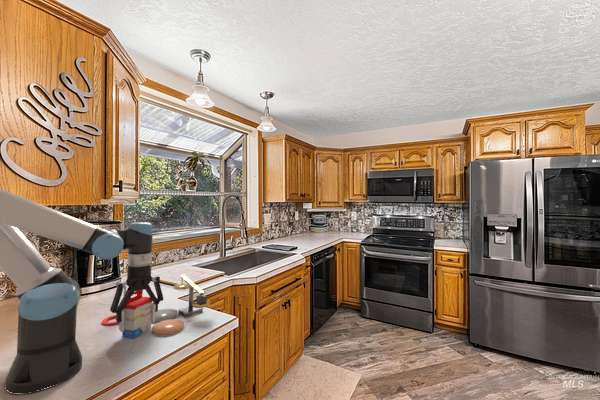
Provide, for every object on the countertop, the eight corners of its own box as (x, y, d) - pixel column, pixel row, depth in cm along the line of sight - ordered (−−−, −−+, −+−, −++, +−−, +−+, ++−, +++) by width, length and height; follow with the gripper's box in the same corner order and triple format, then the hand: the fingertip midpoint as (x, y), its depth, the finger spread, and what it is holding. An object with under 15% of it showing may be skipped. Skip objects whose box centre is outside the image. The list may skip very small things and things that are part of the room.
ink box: (133, 339, 92) (135, 297, 92) (121, 337, 93) (123, 295, 93) (151, 328, 100) (153, 289, 100) (140, 326, 101) (142, 288, 101)
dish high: (154, 325, 102) (154, 322, 102) (143, 317, 109) (143, 314, 109) (182, 316, 111) (182, 313, 111) (170, 309, 118) (170, 306, 118)
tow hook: (110, 328, 100) (134, 318, 108) (109, 295, 99) (133, 287, 108) (97, 324, 103) (121, 314, 112) (96, 291, 103) (120, 284, 111)
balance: (196, 324, 104) (197, 287, 105) (168, 307, 120) (170, 275, 120) (214, 317, 110) (215, 282, 111) (185, 302, 126) (187, 272, 126)
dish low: (159, 339, 92) (159, 335, 92) (147, 328, 99) (147, 325, 99) (189, 328, 101) (189, 325, 101) (176, 319, 108) (176, 316, 108)
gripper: (106, 271, 86) (103, 340, 85) (174, 261, 103) (172, 319, 103) (100, 267, 91) (97, 332, 90) (166, 258, 108) (164, 313, 107)
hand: (137, 325), depth 96 cm, fingers closed on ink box, 9 cm apart
